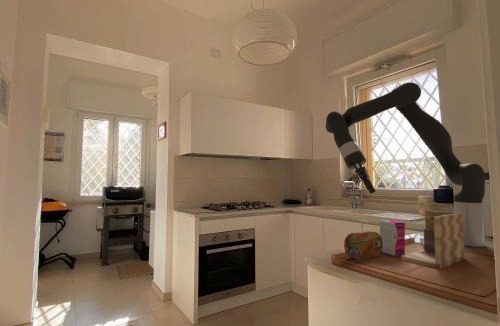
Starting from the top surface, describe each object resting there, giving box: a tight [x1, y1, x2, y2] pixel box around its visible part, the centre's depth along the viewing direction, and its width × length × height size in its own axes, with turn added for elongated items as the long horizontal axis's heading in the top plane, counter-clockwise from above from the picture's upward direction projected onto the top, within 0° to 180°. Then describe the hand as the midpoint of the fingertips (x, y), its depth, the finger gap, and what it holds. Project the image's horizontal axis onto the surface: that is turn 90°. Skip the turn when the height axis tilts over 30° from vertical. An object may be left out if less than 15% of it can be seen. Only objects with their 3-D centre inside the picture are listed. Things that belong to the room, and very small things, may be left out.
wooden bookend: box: [400, 209, 466, 270], centre depth 88 cm, size 19×11×15 cm, turn 124°
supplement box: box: [379, 219, 406, 258], centre depth 94 cm, size 6×6×12 cm
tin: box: [343, 231, 383, 261], centre depth 89 cm, size 15×3×8 cm, turn 114°
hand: (372, 191), depth 102 cm, fingers open, 8 cm apart
